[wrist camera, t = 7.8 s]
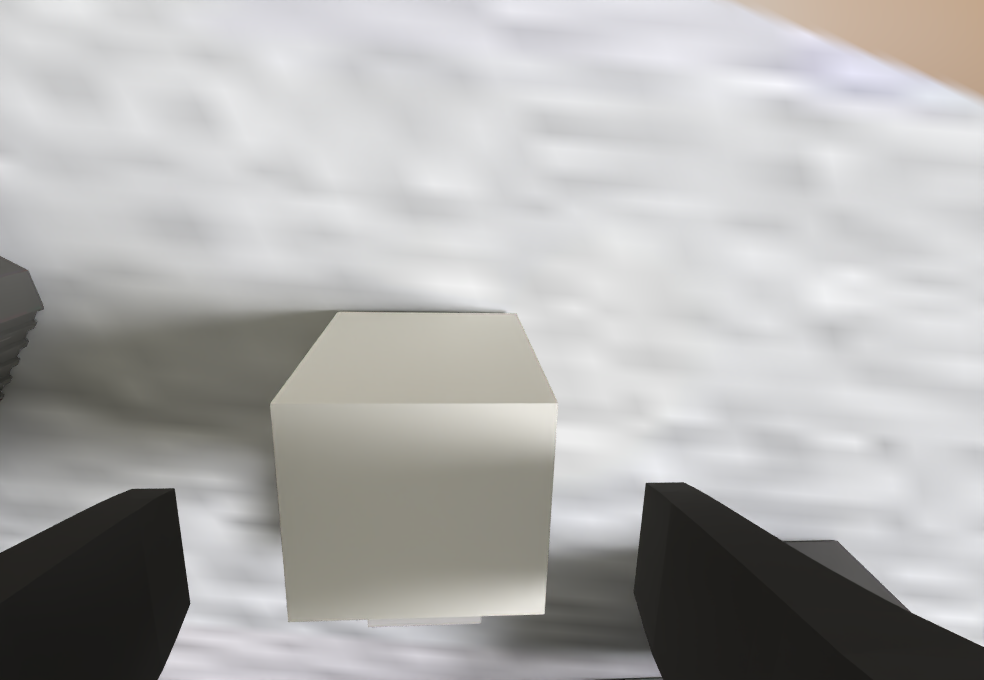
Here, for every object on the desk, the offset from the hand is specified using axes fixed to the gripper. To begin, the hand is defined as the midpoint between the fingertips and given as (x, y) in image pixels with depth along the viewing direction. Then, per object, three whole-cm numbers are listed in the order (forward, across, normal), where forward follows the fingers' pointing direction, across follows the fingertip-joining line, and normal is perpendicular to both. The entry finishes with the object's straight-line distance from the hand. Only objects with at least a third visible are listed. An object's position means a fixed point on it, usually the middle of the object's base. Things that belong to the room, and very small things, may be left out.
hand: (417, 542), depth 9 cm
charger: (+6, 0, +1) cm, 7 cm away
